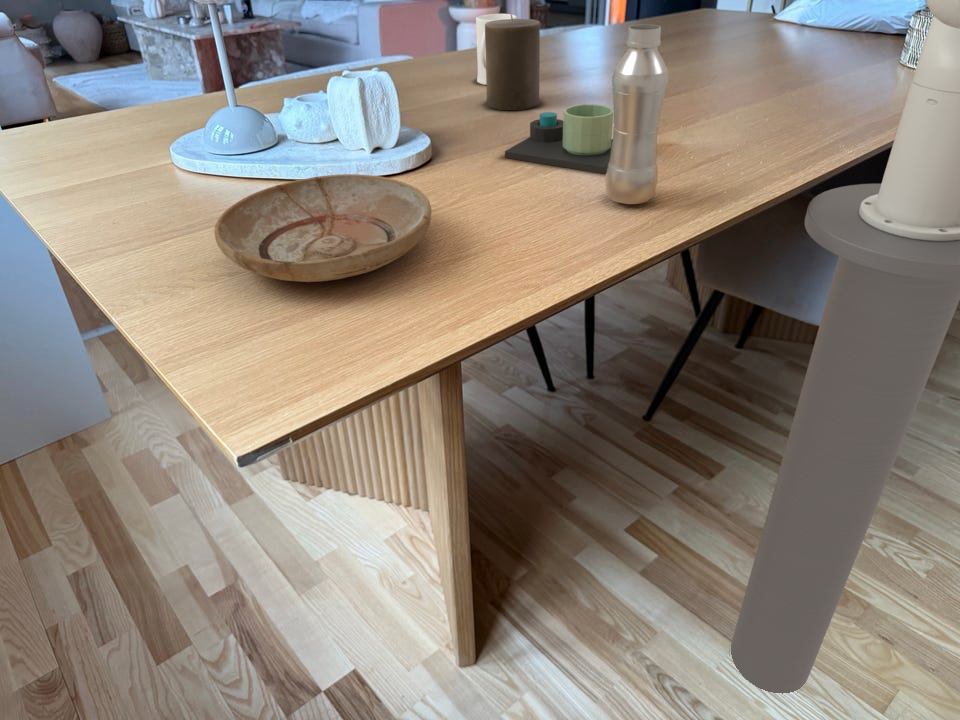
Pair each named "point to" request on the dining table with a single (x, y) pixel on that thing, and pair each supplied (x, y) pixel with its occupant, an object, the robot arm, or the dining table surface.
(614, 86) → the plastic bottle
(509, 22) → the pillar candle
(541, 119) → the button
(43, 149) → the dining table surface
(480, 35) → the mug
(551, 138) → the scale
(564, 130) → the green cup
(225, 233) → the ceramic bowl
